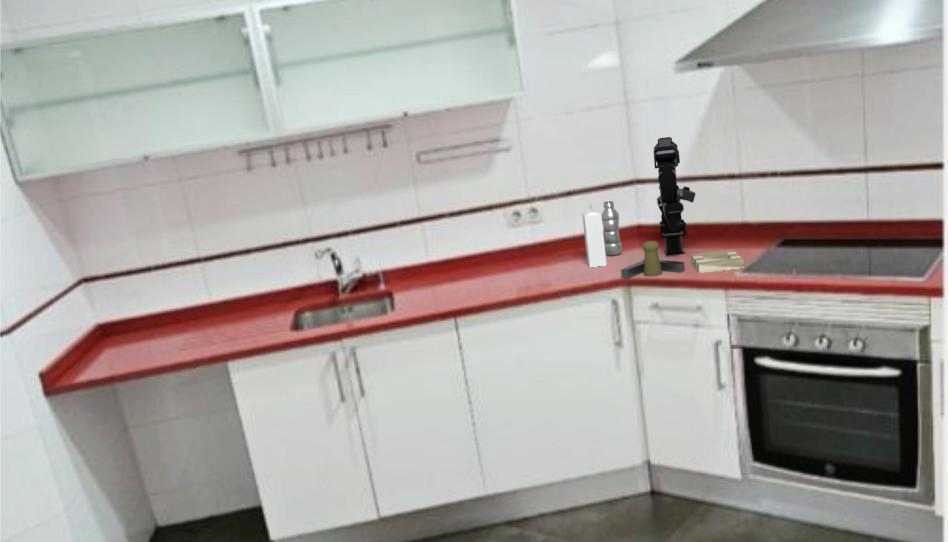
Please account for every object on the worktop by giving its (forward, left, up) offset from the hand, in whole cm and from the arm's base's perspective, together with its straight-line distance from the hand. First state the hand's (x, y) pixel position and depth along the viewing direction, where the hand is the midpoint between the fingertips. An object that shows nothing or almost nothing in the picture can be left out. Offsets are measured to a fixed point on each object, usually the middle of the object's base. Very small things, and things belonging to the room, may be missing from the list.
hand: (671, 228), depth 276 cm
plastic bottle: (-22, -19, -12) cm, 32 cm away
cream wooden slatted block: (+11, +12, -12) cm, 20 cm away
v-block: (+9, -9, -12) cm, 17 cm away
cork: (+12, -9, -12) cm, 19 cm away
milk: (-9, -26, -12) cm, 30 cm away
